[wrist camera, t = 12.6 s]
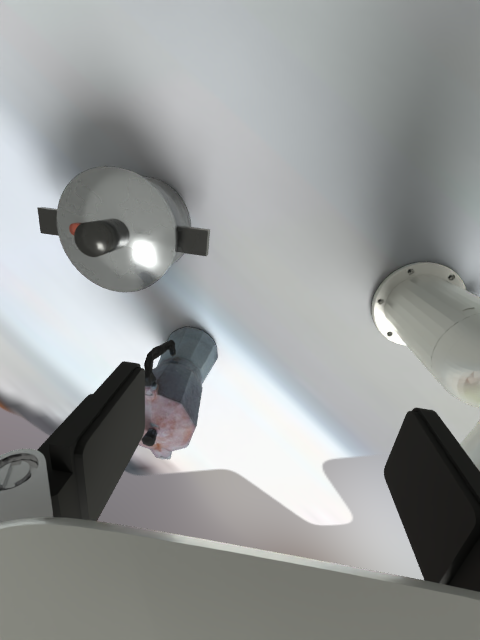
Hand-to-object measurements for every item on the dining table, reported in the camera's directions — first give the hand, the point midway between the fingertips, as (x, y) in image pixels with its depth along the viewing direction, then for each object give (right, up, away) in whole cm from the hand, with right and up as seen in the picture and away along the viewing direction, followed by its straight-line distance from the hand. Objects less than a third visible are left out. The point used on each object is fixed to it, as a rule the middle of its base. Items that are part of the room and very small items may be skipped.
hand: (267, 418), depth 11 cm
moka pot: (-9, -1, +41) cm, 42 cm away
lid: (-15, +14, +26) cm, 33 cm away
